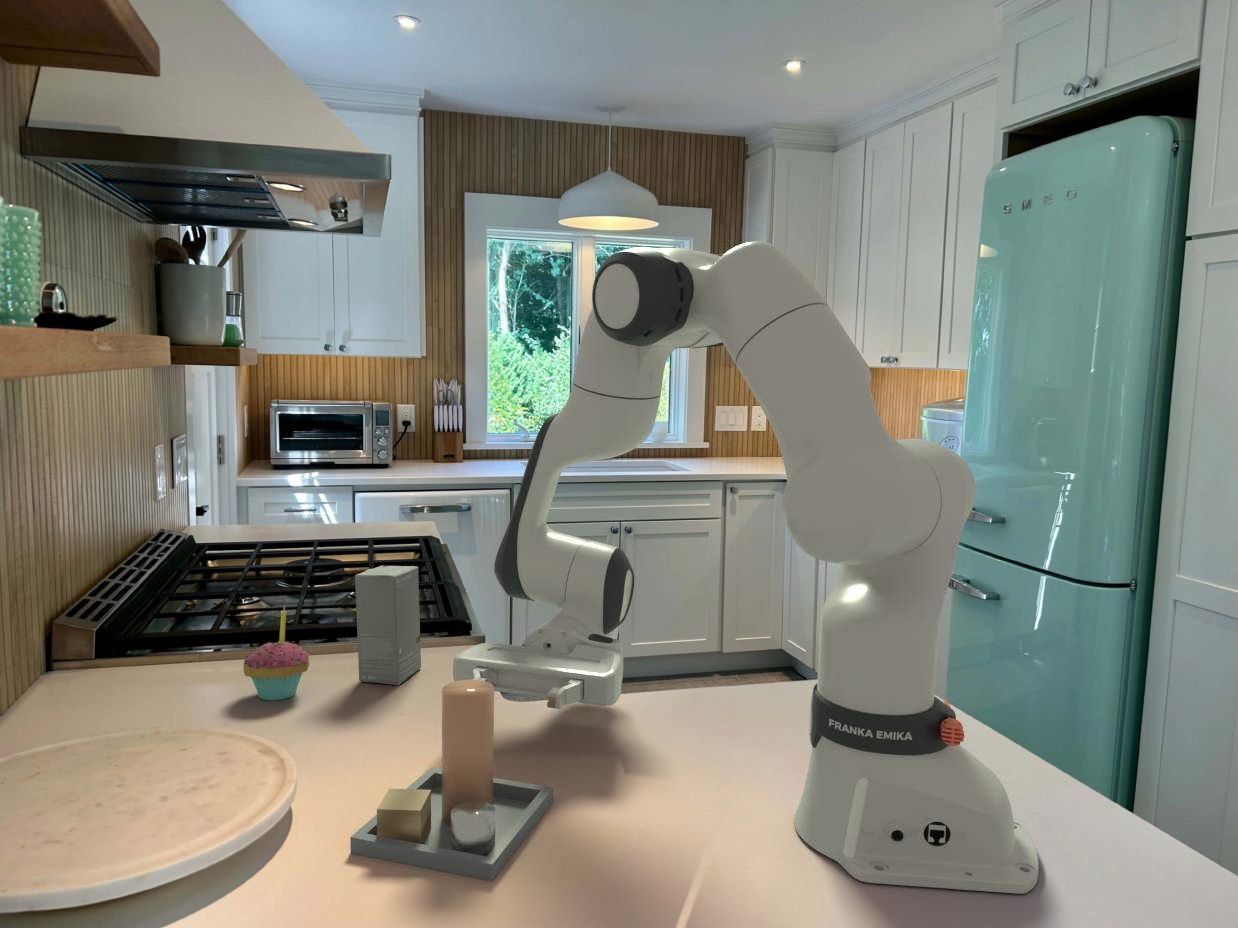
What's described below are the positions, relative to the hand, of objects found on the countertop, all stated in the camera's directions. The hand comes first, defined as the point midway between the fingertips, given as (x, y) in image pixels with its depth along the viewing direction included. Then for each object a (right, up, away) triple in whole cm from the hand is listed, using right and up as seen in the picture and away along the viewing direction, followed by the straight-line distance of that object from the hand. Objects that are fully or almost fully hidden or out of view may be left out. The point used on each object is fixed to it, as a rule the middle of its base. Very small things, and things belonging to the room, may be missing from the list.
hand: (513, 696), depth 98 cm
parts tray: (-4, -10, -12) cm, 16 cm away
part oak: (-8, -10, -15) cm, 20 cm away
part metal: (-2, -10, -17) cm, 20 cm away
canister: (-3, -9, -10) cm, 14 cm away
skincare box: (-22, -6, +32) cm, 39 cm away
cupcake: (-35, -6, +24) cm, 43 cm away
